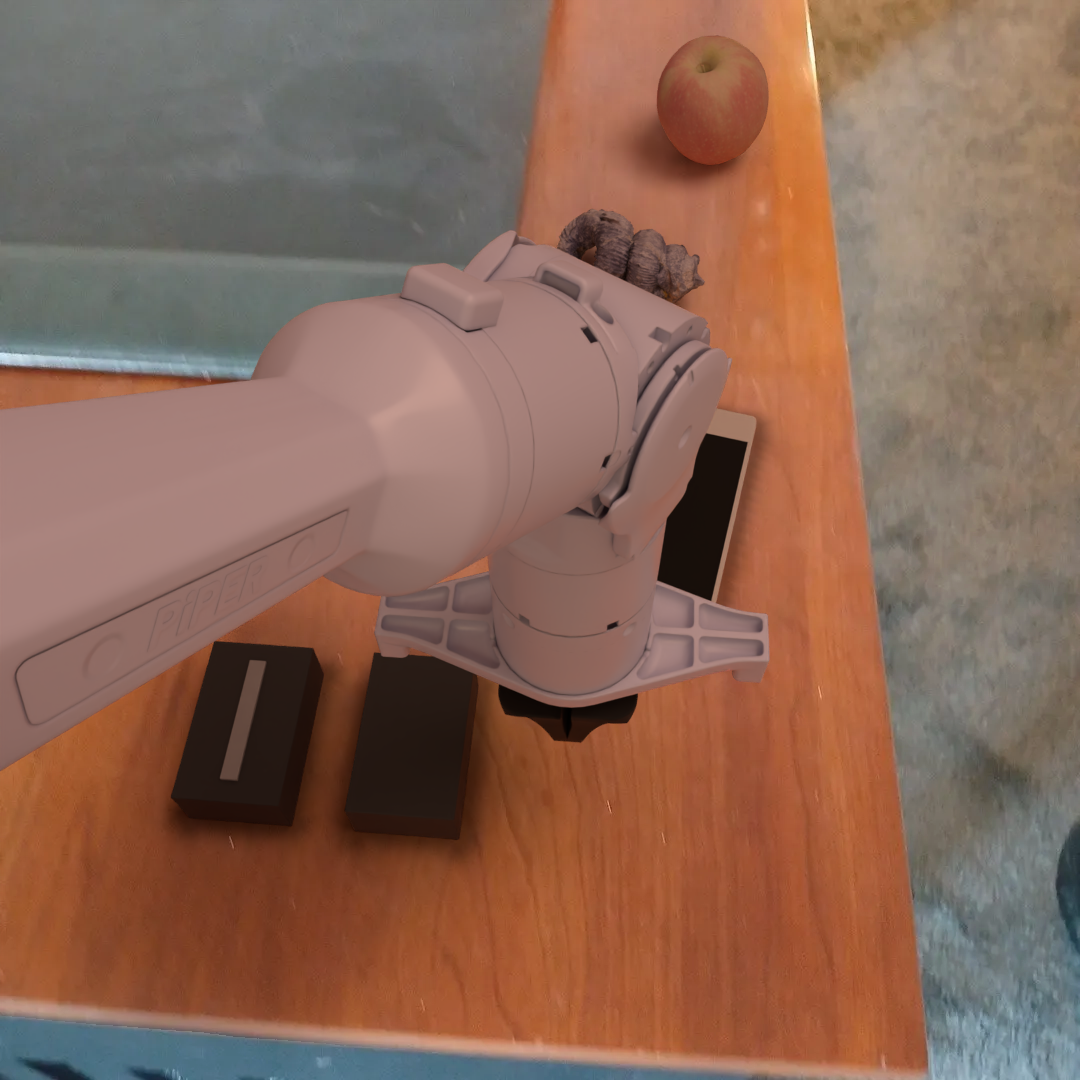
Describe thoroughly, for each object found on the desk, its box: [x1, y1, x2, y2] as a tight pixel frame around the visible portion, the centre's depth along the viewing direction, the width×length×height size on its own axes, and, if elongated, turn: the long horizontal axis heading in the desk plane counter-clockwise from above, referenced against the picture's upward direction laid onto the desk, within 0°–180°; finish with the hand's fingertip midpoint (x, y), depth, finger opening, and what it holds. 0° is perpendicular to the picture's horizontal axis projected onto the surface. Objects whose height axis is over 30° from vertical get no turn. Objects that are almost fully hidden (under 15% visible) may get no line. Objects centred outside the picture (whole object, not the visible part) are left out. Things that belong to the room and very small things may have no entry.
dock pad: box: [170, 640, 325, 827], centre depth 51 cm, size 8×5×3 cm, turn 175°
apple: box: [656, 35, 770, 166], centre depth 73 cm, size 8×8×8 cm
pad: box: [344, 651, 480, 840], centre depth 51 cm, size 8×5×3 cm, turn 175°
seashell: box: [556, 208, 706, 303], centre depth 67 cm, size 5×5×10 cm
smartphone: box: [657, 407, 757, 603], centre depth 59 cm, size 7×16×1 cm, turn 164°
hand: (568, 720), depth 47 cm, fingers closed
